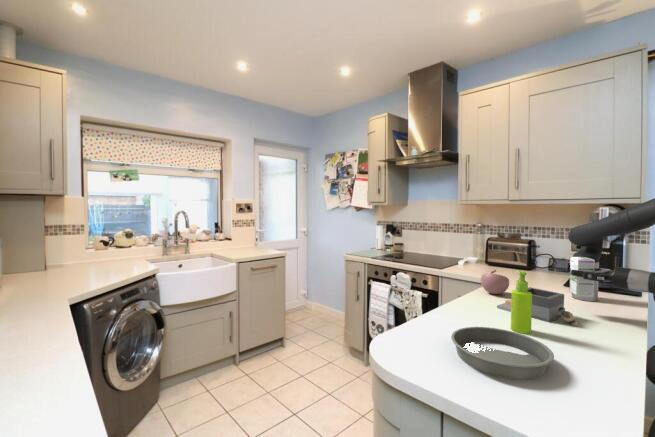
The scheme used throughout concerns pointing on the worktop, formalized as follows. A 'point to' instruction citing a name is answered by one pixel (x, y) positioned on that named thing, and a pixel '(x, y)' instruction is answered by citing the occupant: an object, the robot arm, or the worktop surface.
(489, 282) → the pink apple
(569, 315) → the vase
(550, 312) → the socket
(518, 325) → the soap dispenser
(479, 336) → the cake pan
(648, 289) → the robot arm
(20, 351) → the worktop surface
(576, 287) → the syrup box
